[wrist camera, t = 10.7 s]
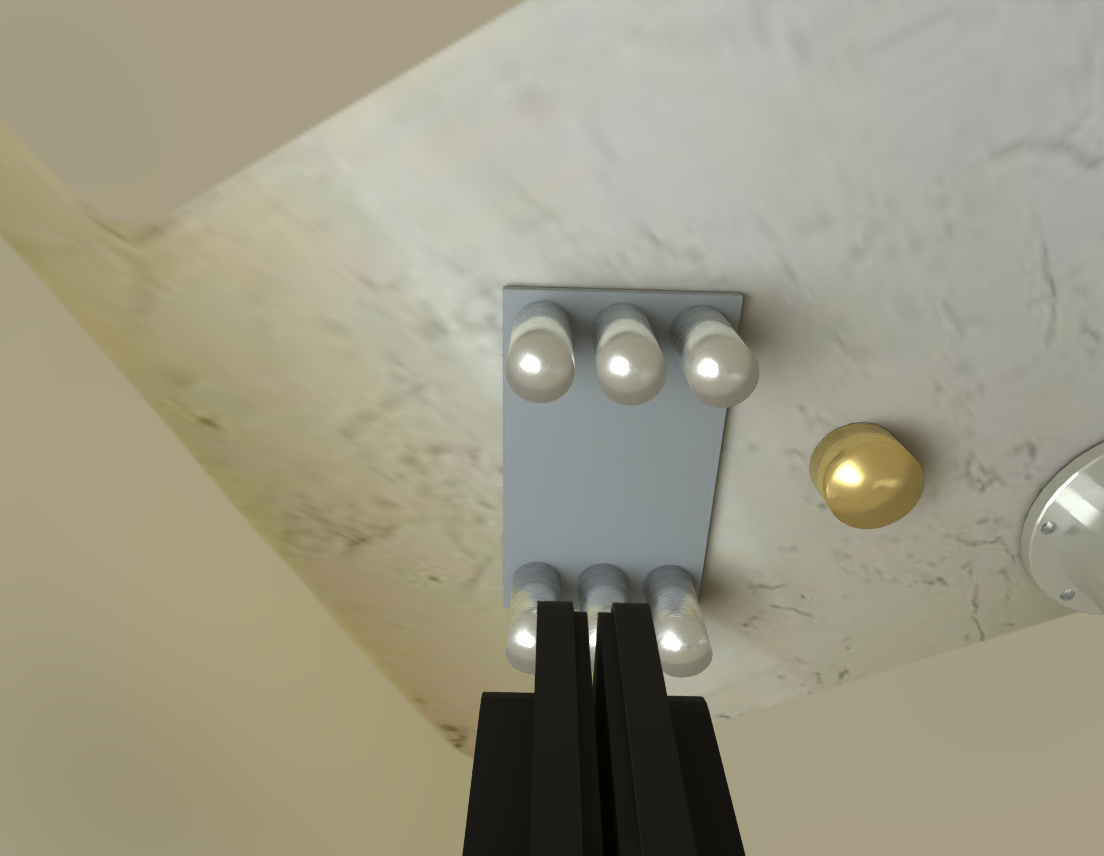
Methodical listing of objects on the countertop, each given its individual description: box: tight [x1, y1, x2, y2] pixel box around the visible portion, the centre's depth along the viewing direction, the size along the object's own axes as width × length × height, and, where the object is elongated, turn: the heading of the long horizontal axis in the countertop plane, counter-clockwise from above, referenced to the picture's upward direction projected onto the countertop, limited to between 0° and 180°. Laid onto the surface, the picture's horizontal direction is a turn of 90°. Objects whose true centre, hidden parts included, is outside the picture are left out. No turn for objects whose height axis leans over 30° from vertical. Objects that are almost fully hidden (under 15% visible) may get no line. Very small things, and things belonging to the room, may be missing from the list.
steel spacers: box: [506, 300, 759, 677], centre depth 37 cm, size 11×19×6 cm, turn 178°
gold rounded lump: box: [810, 423, 924, 529], centre depth 39 cm, size 5×5×3 cm
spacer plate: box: [503, 286, 743, 609], centre depth 40 cm, size 12×20×1 cm, turn 178°
